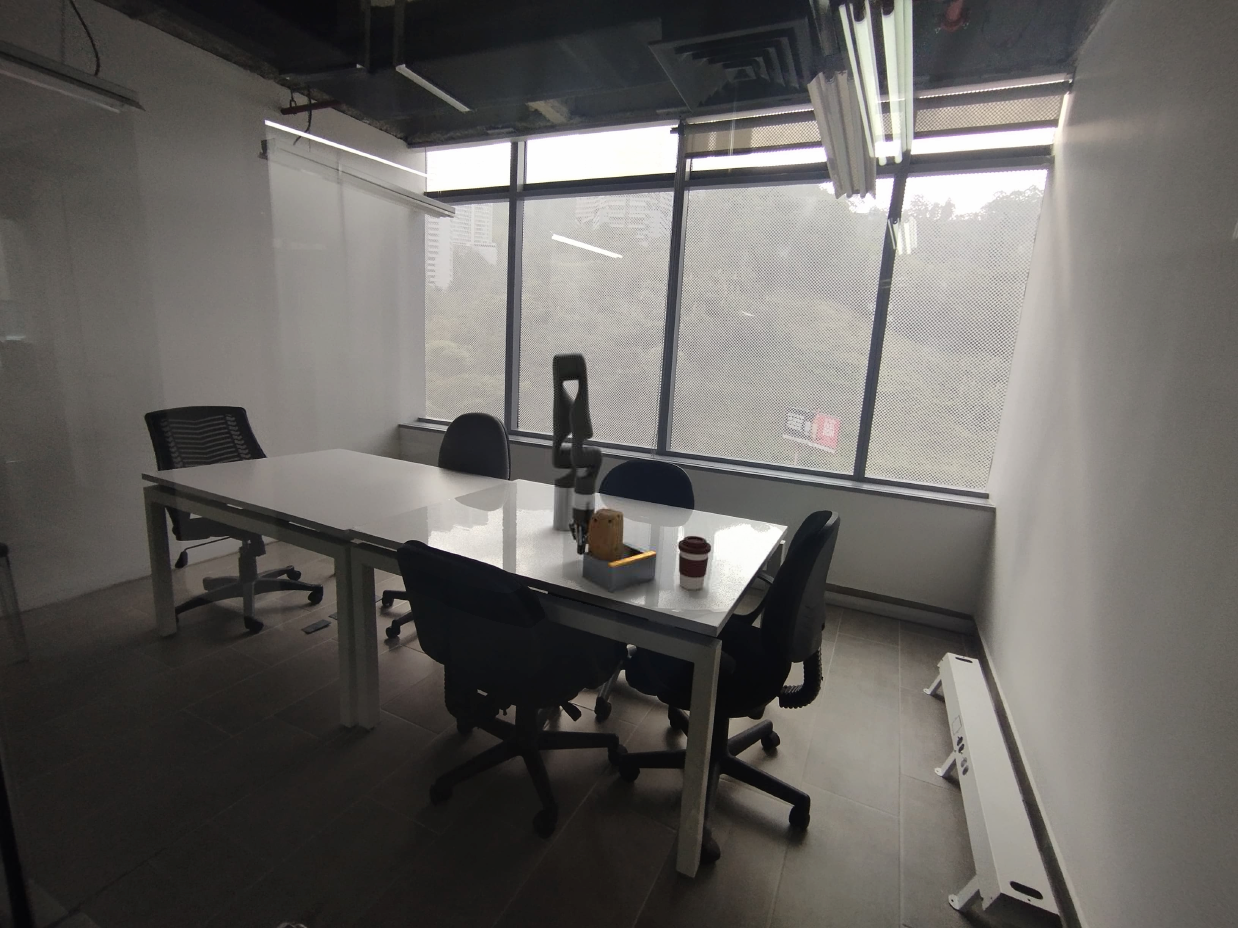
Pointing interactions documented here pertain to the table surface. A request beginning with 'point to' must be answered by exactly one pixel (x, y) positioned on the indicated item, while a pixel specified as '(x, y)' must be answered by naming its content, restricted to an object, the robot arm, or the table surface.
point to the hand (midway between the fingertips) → (580, 553)
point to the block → (606, 534)
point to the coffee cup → (693, 561)
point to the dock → (620, 568)
